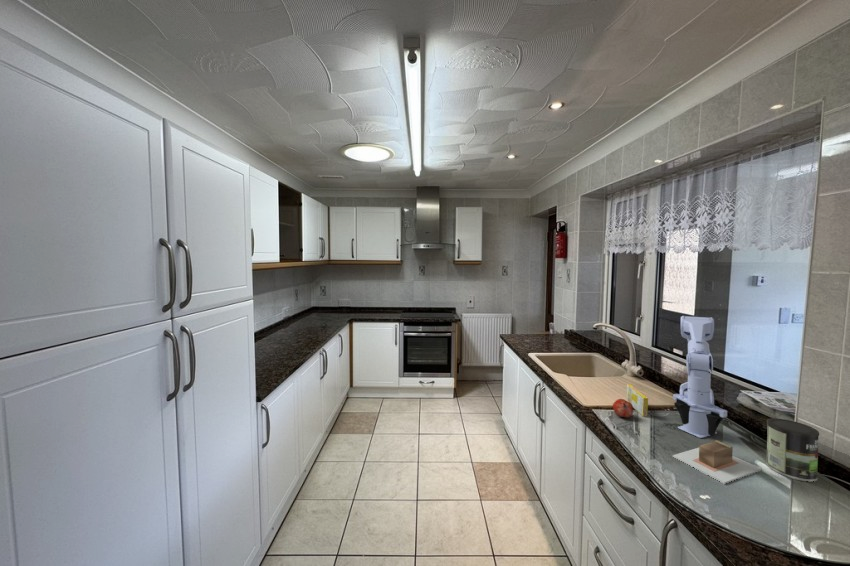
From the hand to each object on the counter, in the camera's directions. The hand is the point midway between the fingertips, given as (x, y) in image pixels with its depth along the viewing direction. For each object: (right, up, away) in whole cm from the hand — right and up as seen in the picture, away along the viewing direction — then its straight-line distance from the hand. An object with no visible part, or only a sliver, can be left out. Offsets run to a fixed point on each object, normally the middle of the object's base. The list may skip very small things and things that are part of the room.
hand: (698, 428), depth 104 cm
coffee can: (+20, -9, -9) cm, 24 cm away
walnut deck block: (+1, -8, -5) cm, 10 cm away
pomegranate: (-8, -8, +28) cm, 30 cm away
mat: (+1, -9, -5) cm, 10 cm away
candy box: (+3, -7, +35) cm, 35 cm away
